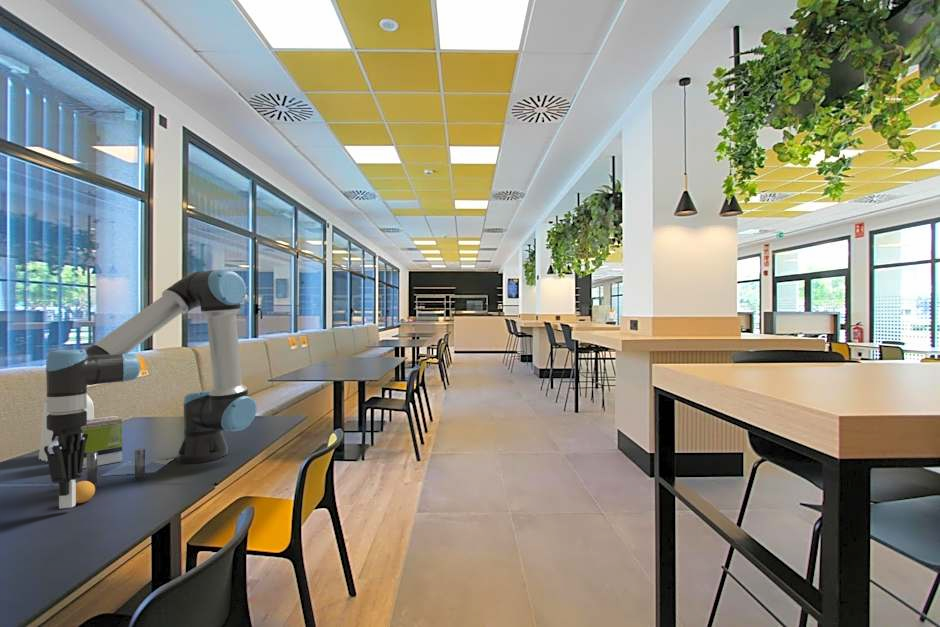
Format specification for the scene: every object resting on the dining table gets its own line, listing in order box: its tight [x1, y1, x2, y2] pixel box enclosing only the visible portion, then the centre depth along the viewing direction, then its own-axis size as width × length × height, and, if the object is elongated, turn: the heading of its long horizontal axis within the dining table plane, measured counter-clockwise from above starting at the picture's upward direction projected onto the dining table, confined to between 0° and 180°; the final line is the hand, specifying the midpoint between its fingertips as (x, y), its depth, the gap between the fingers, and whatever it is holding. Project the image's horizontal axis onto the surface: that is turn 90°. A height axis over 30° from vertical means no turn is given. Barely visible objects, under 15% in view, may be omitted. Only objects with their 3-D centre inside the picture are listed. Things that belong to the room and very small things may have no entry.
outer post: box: [85, 451, 99, 485], centre depth 133 cm, size 2×2×9 cm
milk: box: [38, 393, 95, 462], centre depth 161 cm, size 12×12×26 cm
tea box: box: [81, 415, 123, 469], centre depth 152 cm, size 15×10×15 cm, turn 134°
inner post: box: [134, 448, 146, 482], centre depth 135 cm, size 2×2×9 cm
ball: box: [76, 480, 96, 504], centre depth 118 cm, size 6×6×6 cm
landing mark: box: [100, 460, 168, 477], centre depth 148 cm, size 15×15×1 cm
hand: (67, 506), depth 112 cm, fingers closed
